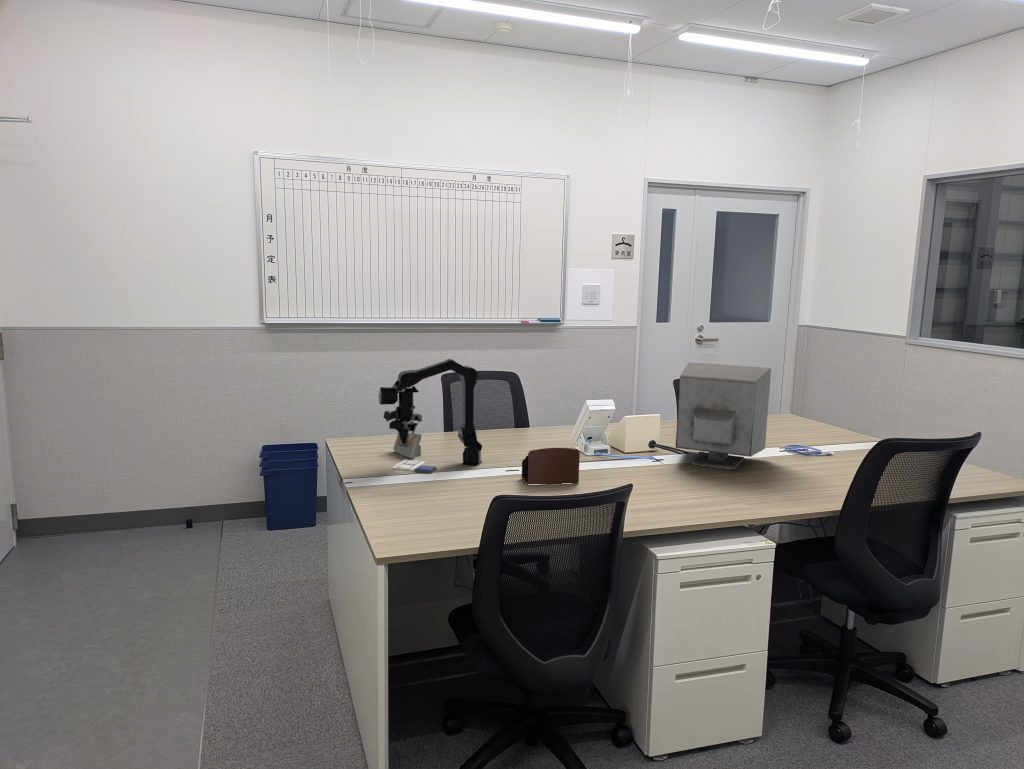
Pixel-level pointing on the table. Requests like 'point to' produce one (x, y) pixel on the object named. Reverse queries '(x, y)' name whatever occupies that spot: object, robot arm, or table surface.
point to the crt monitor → (722, 412)
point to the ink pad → (425, 469)
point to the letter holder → (551, 466)
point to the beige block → (408, 441)
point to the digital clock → (411, 450)
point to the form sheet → (408, 465)
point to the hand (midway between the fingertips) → (406, 442)
